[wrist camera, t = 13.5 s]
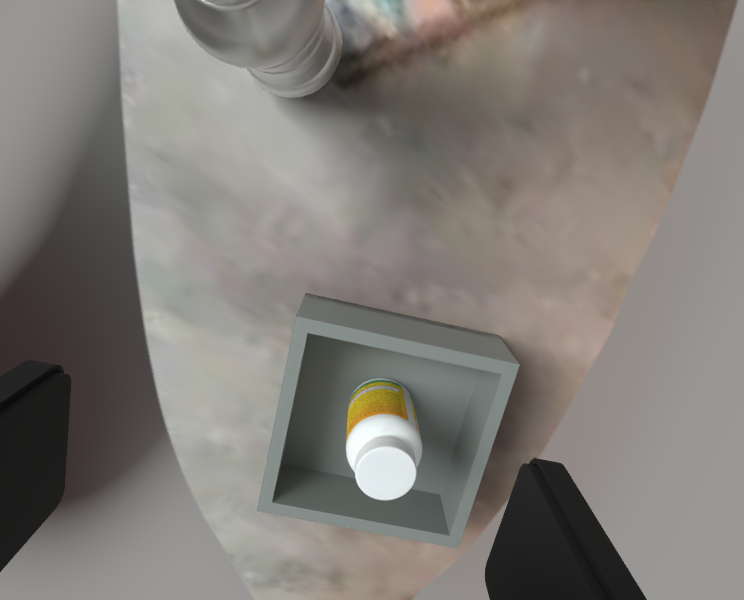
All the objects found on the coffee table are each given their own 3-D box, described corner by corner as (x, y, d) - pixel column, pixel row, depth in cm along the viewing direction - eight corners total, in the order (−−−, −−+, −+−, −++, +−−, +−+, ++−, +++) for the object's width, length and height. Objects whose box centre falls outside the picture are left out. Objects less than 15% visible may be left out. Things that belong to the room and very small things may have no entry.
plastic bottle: (361, 67, 36) (357, -37, 17) (283, 120, 37) (192, 82, 17) (310, -21, 34) (240, -248, 15) (229, 37, 35) (66, -106, 16)
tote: (305, 293, 40) (295, 316, 34) (498, 335, 41) (519, 364, 36) (270, 464, 44) (256, 511, 39) (446, 498, 46) (458, 548, 40)
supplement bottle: (425, 408, 42) (445, 478, 33) (376, 446, 43) (381, 525, 34) (384, 362, 41) (392, 422, 32) (334, 402, 42) (327, 471, 32)
